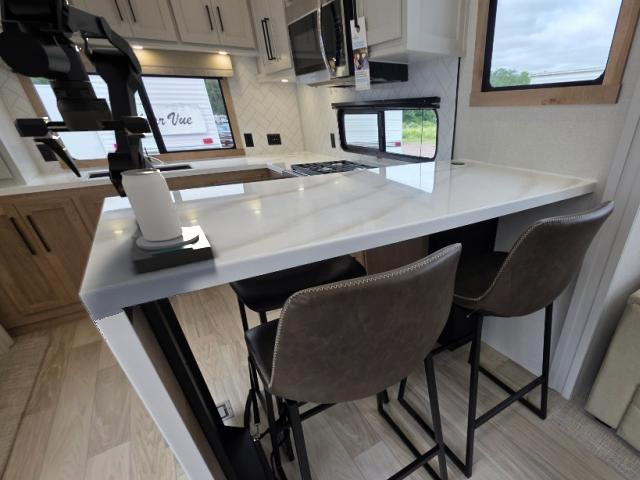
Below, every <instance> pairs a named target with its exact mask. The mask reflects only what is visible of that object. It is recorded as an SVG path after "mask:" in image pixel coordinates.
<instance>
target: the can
mask: <svg viewBox="0 0 640 480" xmlns="http://www.w3.org/2000/svg"><path fill="white" fill-rule="evenodd" d="M121 174H122V185H123V187H124V190H125V192H126V195H127V197H126V198H127V200H128V202H129V204H130V207H131V209H132V212H133V215H134V216H135V217H134V218H135V219H136V222H137V224H138V226H139V228H140V232H141V233H142V235H143V236H144V238H145V239H146V240H148V241H150V242H163V241H169V240H173V239H176V238H178V237H180V236H181V235H182V233H183V229H182V228H183V226H182V223H181V220H180V217H179V214H178V212H177V209H176V206H175V202H174V199H173V197H172V194H171V191H170V188H169V185H168V183H167V181H166V178H165V177H164V176H163V175H162V174H161V172H160V169H157V168H154V169H137V170H129V171H125V172H122V173H121Z"/></svg>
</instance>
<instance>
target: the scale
mask: <svg viewBox="0 0 640 480" xmlns="http://www.w3.org/2000/svg"><path fill="white" fill-rule="evenodd" d="M182 229H183V233H182V235H181V236H180V237H178V238H176V239H173V240H169V241H163V242H150V241H148V240H146V239H145V238H144V236H143V234H142V235H136V236H132V237H131V241H132V242H131V243H132V262H133V264H134V267H135V268H136V269H135V270H136V271H137V273H138V274H141V273H146V272H151V271H157V270H161V269H166V268H171V267H176V266H181V265H184V264H189V263H190V264H191V263H194V262H199V261H205V260H209V259H213V258H215V256H214V253H213V249H212V246H211V245H210V243H209V241H208V239H207V237H206V236H205V234H204V232H203V230H202V229H201V227H200V225H197V226H191V227H182Z"/></svg>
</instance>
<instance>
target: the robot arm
mask: <svg viewBox="0 0 640 480" xmlns="http://www.w3.org/2000/svg"><path fill="white" fill-rule="evenodd" d="M0 18H1V19H0V24H1V29H2V31H1V32H0V58H1V60H2V61H3V63H4V64H5V65H6V66H8V68H10V69H11V70H12V71H13V72H15V73H17V74H18V75H22V76H24V77H26V78H32V79H42V80H47V82H48V84H49V86H50V88H51V91H52V92H53V95H54V97H55V100H56V102H55V103H56V108H57V111H58V113H59V115H60V117H61V119H62V120H52V121H51V120H50V118H48V117H47V116H45V117H43V116H42V117H39V116H38V117H34V116H33V117H19V118H18V117H16V118H15V120H14V121H13V124H14V127H15V129H16V131H17V134H18V135H19V137H20V138H33V139H32V141H33V142H34V143H42V144H43V145H45V146H46V147H47V148H49V149H50V150H51V151H52V152H53V153H54V154H56V156H58V157H59V158H60V159H61V160H62V162H63V163H65V165H66V166H67V167H68V168H69V169H70V170H71V171H72V172H73V173H74V174H75V176H76V177H77V178H82V174H81V172H80V170H79V168H78V166H77V163H76V161H75V160H74V159H73V157H72V155H71V154H70V151H69V150H68V148H67V146H66V145H65V143H64V141H63V140H62V137H61V136H60V135H58V136H57V135H56V133H76V132H78V133H79V132H81V133H82V132H113V133H114V139H115V140H114V141H115V146H116V149H115V151H110V152H109V151H108V152H107V155H106V158H107V159H106V160H107V163H108V177H109V180H110V182H111V184H112V186H113V187H114V189H115V190H116V192H117V194H118V196H119V197H120V198H121V199H123V198H128V197H127V195H126V192H125V190H124V187H123V185H122V174H121V173H122V172H125V171H129V170H137V169H155V166H154V165H153V164H152V163H151V161H150V160H149V159H148V158H147V157H146V156H145V153H144V149H143V148H144V147H143V141H142V139H146V135H145V134H152V129H151V126H150V123H149V120H148V119H147V118H146V117H144V116H143V115H138V108H137V102H136V97H135V96H136V93H137V91H138V90H139V89H140V88H141V86H142V76H141V74H142V73H143V70H142V65H141V63H140V60H139V59H138V56H137V55H136V53H135V52H134V50H133V48H132V47H131V45H130V43H129V42H128V41H127V40H126V39H125V38H124V37H122V36H121V35H119V34H118V33H117V32H116V31H115V30H114V29H112V27H111V26H110V24H109V23H108V21H107V19H106V17H104V16H103V15H99V14H97V13H92V12H89V11H86V10H84V9H81V8H80V7H76V6H74V5H71V4H70V3H69V1H68V0H0ZM73 34H74V35H77V36H80V37H81V39H82V40H83V53H84V55H85V57H86V58H87V60H88V61H89V62H90V64H91V65H92V67H93V68H94V71H95V72H96V74H98V76H99V77H100V78H101V80H102V81H103V82H104V83H105V84H106V87H107V93H108V100H107V99H106V98H105V97H98V96H97V94H96V91H95V88H94V86H93V84H92V81H91V79H90V76H89V73H88V71H87V69H86V66H85V64H84V61H83V59H82V56H81V53H82V49H81V47H80V46H79V45H78V44H77V43H76V42H74V41H73V40H72V37H73ZM89 39H92V40H93V39H94V40H107V41H108V43H109V44H110V45H111V46H113V47H114V48H109V47H108V48H107V47H94V48H93V47H92V46H91V45H90V43H89ZM108 101H109V103H108Z"/></svg>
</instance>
